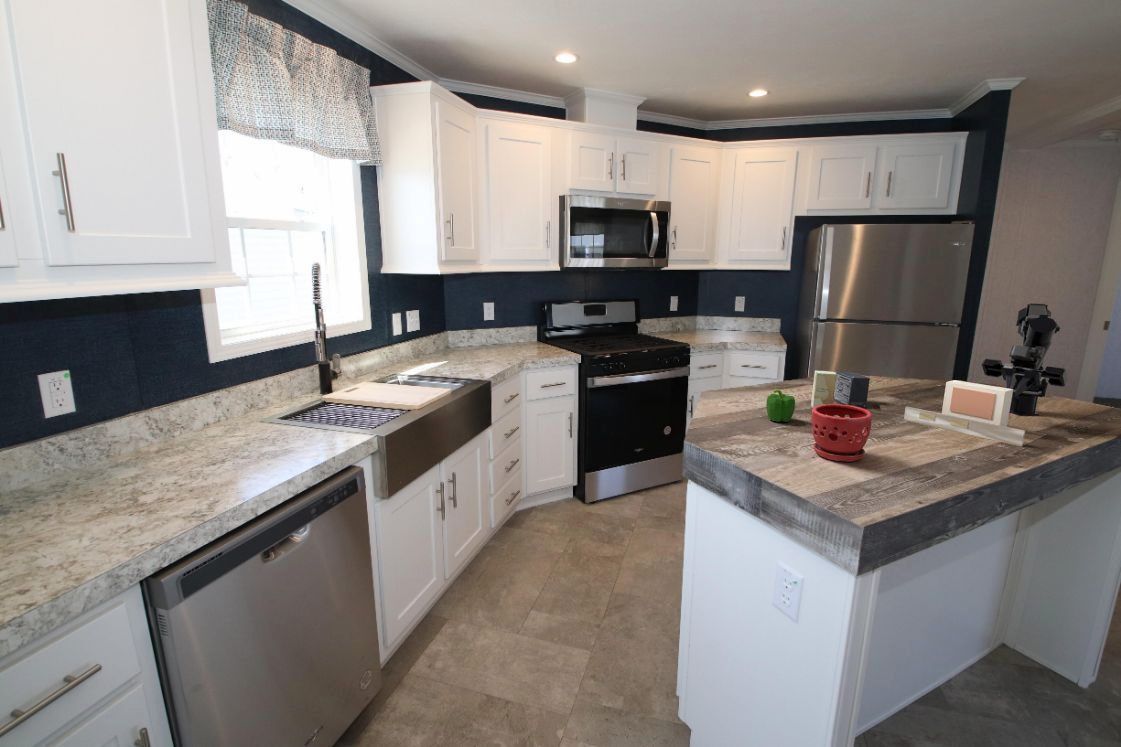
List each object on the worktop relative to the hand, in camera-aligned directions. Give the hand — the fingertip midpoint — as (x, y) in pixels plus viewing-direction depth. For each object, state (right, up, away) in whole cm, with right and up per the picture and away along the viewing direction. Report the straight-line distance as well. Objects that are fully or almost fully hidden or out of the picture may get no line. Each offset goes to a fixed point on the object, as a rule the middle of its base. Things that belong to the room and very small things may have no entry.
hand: (1011, 394), depth 152 cm
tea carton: (-12, -9, -1) cm, 15 cm away
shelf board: (-12, -11, -1) cm, 16 cm away
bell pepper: (-62, -9, +11) cm, 64 cm away
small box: (-30, -5, +30) cm, 43 cm away
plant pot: (-60, -15, -19) cm, 65 cm away
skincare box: (-42, -6, +26) cm, 49 cm away
